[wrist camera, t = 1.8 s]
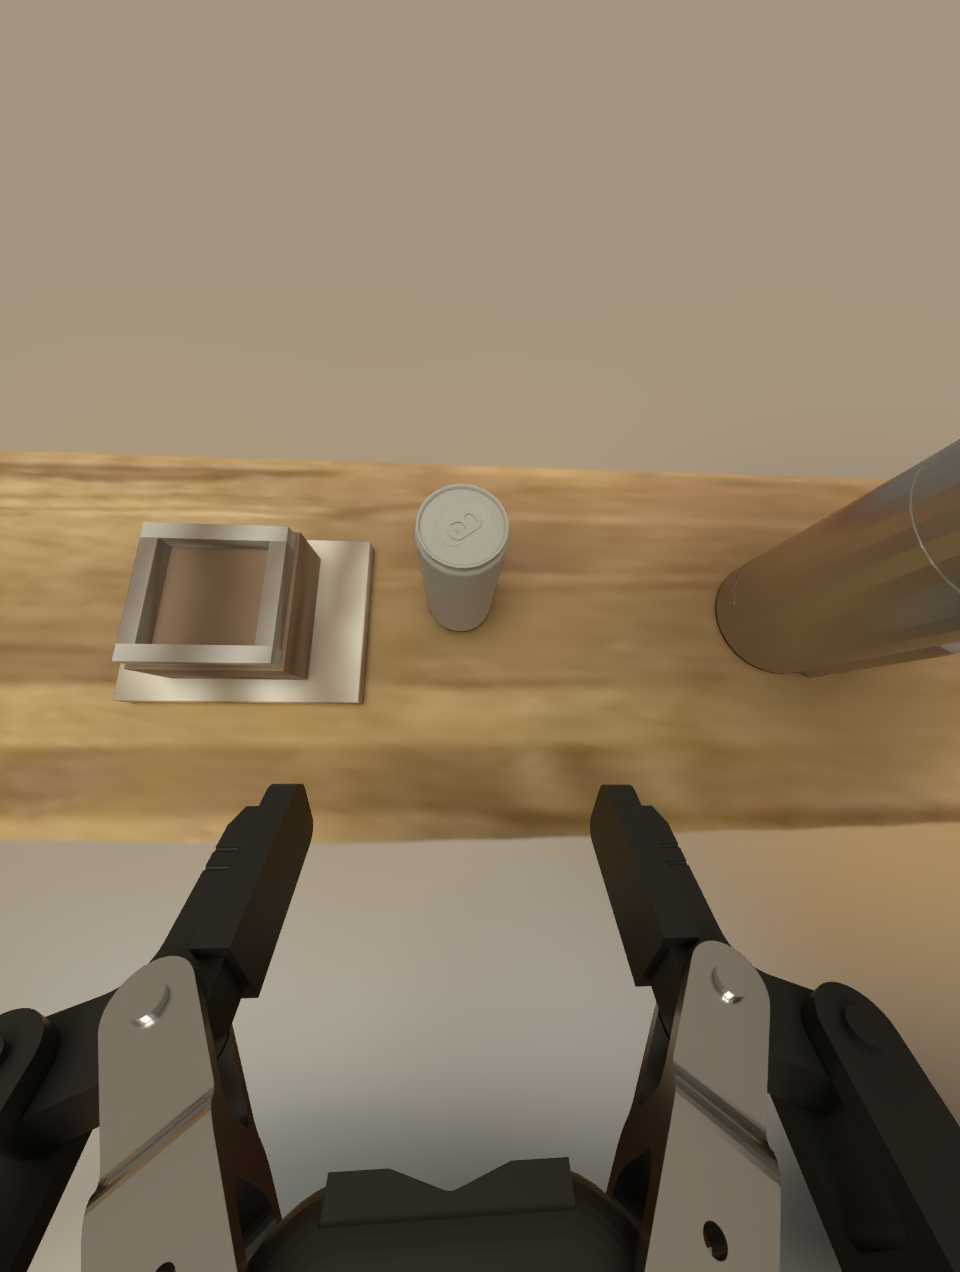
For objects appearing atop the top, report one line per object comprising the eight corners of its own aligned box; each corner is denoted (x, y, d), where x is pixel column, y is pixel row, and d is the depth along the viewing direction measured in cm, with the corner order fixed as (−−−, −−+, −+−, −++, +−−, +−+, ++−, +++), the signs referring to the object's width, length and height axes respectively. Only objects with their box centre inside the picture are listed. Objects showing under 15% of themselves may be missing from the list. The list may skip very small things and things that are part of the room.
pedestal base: (374, 551, 32) (352, 503, 25) (362, 704, 29) (335, 695, 22) (163, 544, 31) (85, 493, 24) (130, 702, 28) (30, 692, 21)
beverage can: (416, 596, 31) (392, 513, 19) (466, 563, 32) (472, 464, 20) (453, 645, 30) (451, 589, 18) (503, 609, 31) (531, 535, 19)
